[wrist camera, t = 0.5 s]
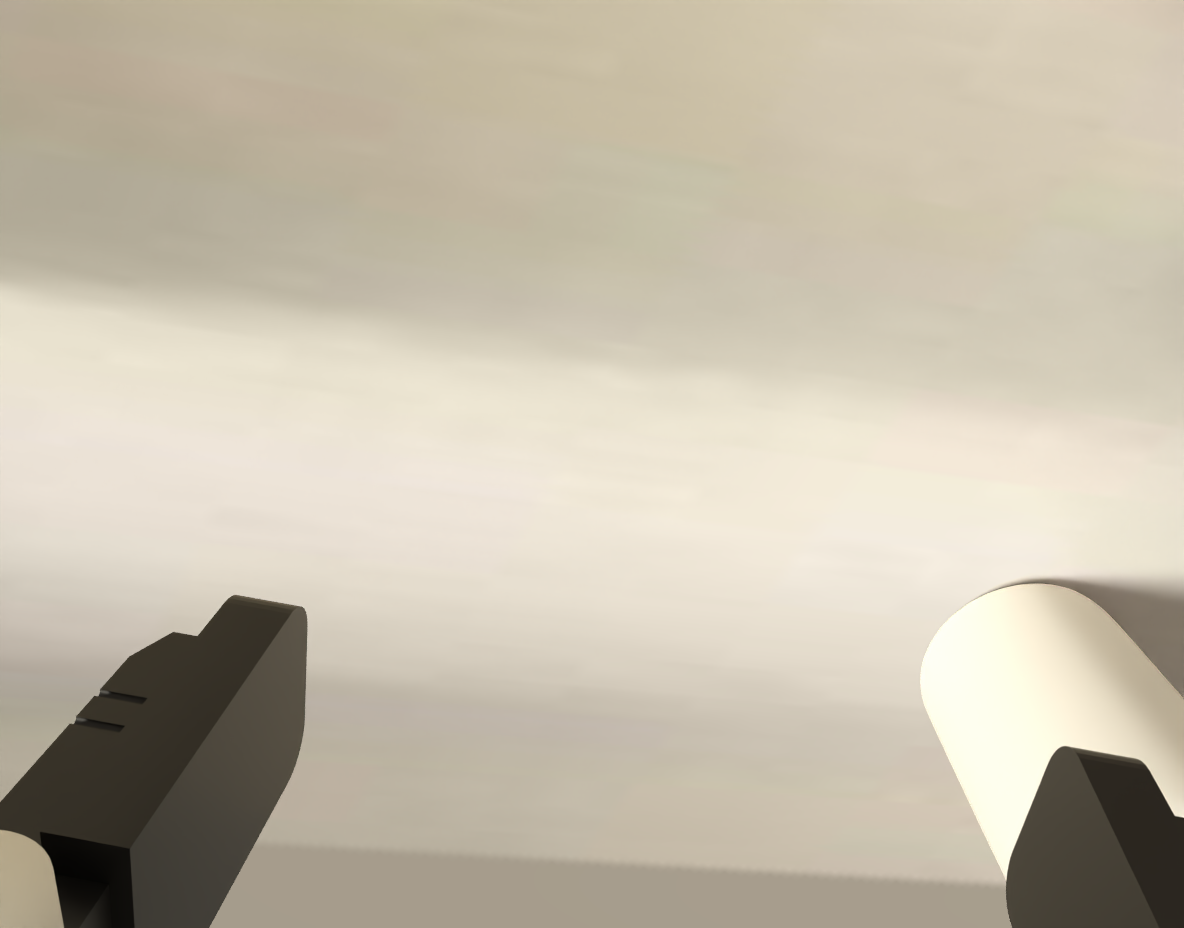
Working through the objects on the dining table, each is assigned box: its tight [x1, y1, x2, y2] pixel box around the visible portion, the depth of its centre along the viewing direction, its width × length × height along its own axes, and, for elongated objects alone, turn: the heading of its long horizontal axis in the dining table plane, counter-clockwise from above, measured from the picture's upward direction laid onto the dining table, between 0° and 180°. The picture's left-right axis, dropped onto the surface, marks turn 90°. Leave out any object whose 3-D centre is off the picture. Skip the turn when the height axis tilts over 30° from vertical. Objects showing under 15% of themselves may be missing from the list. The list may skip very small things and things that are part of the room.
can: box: [920, 584, 1184, 880], centre depth 29 cm, size 6×6×12 cm
